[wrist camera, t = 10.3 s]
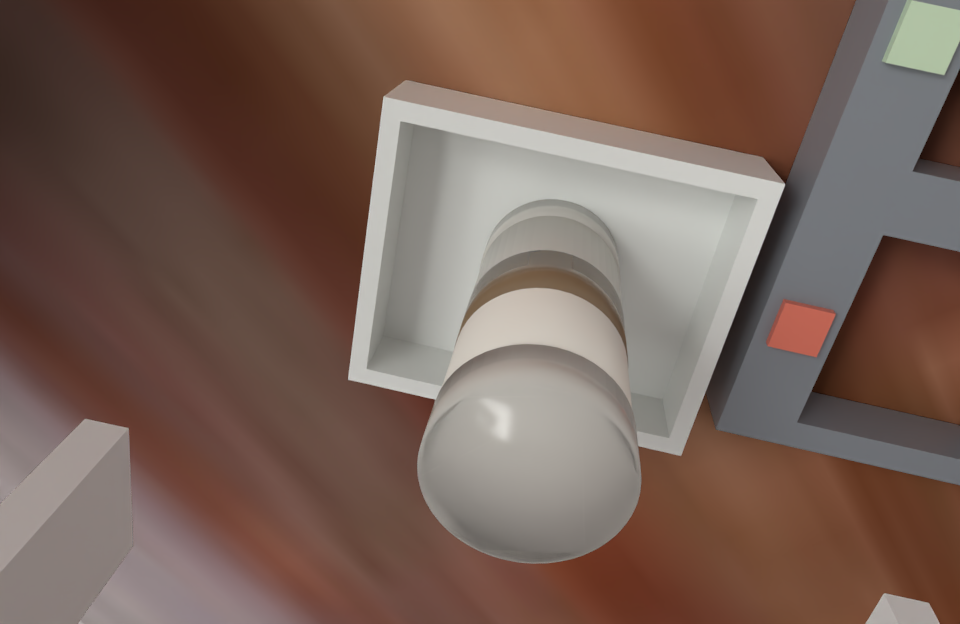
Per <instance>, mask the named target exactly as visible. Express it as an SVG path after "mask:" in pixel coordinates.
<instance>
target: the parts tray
mask: <svg viewBox="0 0 960 624" xmlns="http://www.w3.org/2000/svg"><path fill="white" fill-rule="evenodd" d="M784 187H785V183H784V182H783V181H782V179H781V178H780V177H779V176H778V175H777V173H776V172H775V171H774V170H773V169H772V167H771V166H770V165H769V164H768V163H767V161H766V160H765V159H764V158H763V157H759V156H755V155H750V154H745V153H741V152H736V151H732V150H727V149H722V148H718V147H713V146H709V145H704V144H699V143H695V142H690V141H685V140H681V139H676V138H672V137H667V136H662V135H658V134H653V133H649V132H644V131H639V130H635V129H630V128H625V127H621V126H616V125H612V124H607V123H602V122H598V121H593V120H589V119H584V118H579V117H575V116H570V115H566V114H561V113H556V112H552V111H547V110H542V109H538V108H533V107H529V106H524V105H519V104H515V103H510V102H506V101H501V100H496V99H492V98H487V97H482V96H478V95H473V94H469V93H464V92H459V91H455V90H450V89H446V88H441V87H436V86H432V85H427V84H422V83H418V82H413V81H409V80H405V81H404V82H402V83H401V84H400V85H398V86H397V87H396V88H394V89H393V90H392V91H390V92H389V93H388V94H386V95H385V96H384V97H383V105H382V113H381V121H380V129H379V137H378V145H377V152H376V160H375V168H374V176H373V184H372V192H371V200H370V208H369V216H368V224H367V232H366V240H365V248H364V256H363V264H362V272H361V280H360V288H359V296H358V304H357V312H356V320H355V328H354V336H353V344H352V352H351V360H350V368H349V376H348V380H352V381H356V382H361V383H365V384H370V385H374V386H378V387H383V388H387V389H391V390H396V391H400V392H404V393H409V394H413V395H417V396H422V397H426V398H431V399H435V400H436V398H437V396H438V393H439V391H440V389H441V388H442V385H443V382H444V379H445V376H446V373H447V370H448V367H449V364H450V361H451V358H452V354H453V351H454V347H455V344H456V340H457V337H458V334H459V331H460V328H461V324H462V321H463V318H464V315H465V312H466V309H467V306H468V303H469V300H470V297H471V295H472V293H473V290H474V287H475V284H476V281H477V278H478V275H479V270H480V264H481V261H482V257H483V254H484V251H485V248H486V245H487V242H488V240H489V237H490V235H491V233H492V231H493V230H494V228H495V227H496V225H497V224H498V223H499V222H500V221H501V219H503V218H504V217H505V216H506V215H507V214H508V213H510V212H511V211H512V210H514V209H516V208H518V207H519V206H521V205H524V204H527V203H529V202H533V201H537V200H544V199H558V200H565V201H569V202H573V203H576V204H578V205H580V206H583V207H585V208H586V209H588V210H590V211H591V212H593V213H594V214H595V215H596V216H598V217H599V218H600V219H601V220H602V221H603V222H604V223H605V225H606V226H607V228H608V229H609V230H610V232H611V234H612V236H613V238H614V240H615V243H616V246H617V251H618V257H619V267H620V279H621V282H620V292H621V302H622V309H623V315H624V325H625V335H626V345H627V354H628V372H629V382H630V392H631V402H632V410H633V413H634V418H635V422H636V429H637V439H638V446H640V447H644V448H648V449H653V450H657V451H662V452H666V453H670V454H675V455H679V456H681V455H682V452H683V449H684V447H685V444H686V442H687V439H688V436H689V434H690V431H691V429H692V426H693V423H694V421H695V418H696V416H697V413H698V410H699V408H700V405H701V403H702V400H703V397H704V395H705V392H706V390H707V387H708V384H709V382H710V379H711V377H712V374H713V371H714V369H715V366H716V364H717V361H718V358H719V356H720V353H721V351H722V348H723V345H724V343H725V340H726V338H727V335H728V332H729V330H730V327H731V325H732V322H733V319H734V317H735V314H736V312H737V309H738V306H739V304H740V301H741V299H742V296H743V293H744V291H745V288H746V286H747V283H748V280H749V278H750V275H751V273H752V270H753V267H754V265H755V262H756V260H757V257H758V254H759V252H760V249H761V247H762V244H763V241H764V239H765V236H766V234H767V231H768V228H769V226H770V223H771V221H772V218H773V215H774V213H775V210H776V207H777V205H778V202H779V200H780V197H781V194H782V192H783V189H784Z"/></svg>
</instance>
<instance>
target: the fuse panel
mask: <svg viewBox="0 0 960 624" xmlns="http://www.w3.org/2000/svg"><path fill="white" fill-rule="evenodd" d="M959 69H960V0H856V2H855V5H854V7H853V10H852V13H851V15H850V18H849V20H848V23H847V26H846V28H845V31H844V33H843V36H842V39H841V41H840V44H839V46H838V49H837V52H836V54H835V57H834V59H833V62H832V65H831V67H830V70H829V72H828V75H827V78H826V80H825V83H824V85H823V88H822V91H821V93H820V96H819V98H818V101H817V104H816V106H815V109H814V111H813V114H812V117H811V119H810V122H809V124H808V127H807V130H806V132H805V135H804V137H803V140H802V143H801V145H800V148H799V150H798V153H797V156H796V158H795V161H794V163H793V166H792V169H791V171H790V174H789V176H788V179H787V182H786V184H785V187H784V189H783V192H782V195H781V197H780V200H779V202H778V205H777V208H776V210H775V213H774V215H773V218H772V221H771V223H770V226H769V228H768V231H767V234H766V236H765V239H764V241H763V244H762V247H761V249H760V252H759V254H758V257H757V260H756V262H755V265H754V268H753V270H752V273H751V275H750V278H749V281H748V283H747V286H746V288H745V291H744V294H743V296H742V299H741V301H740V304H739V307H738V309H737V312H736V314H735V317H734V320H733V322H732V325H731V327H730V330H729V333H728V335H727V338H726V340H725V343H724V346H723V348H722V351H721V353H720V356H719V359H718V361H717V364H716V366H715V369H714V372H713V374H712V377H711V379H710V382H709V385H708V387H707V390H706V395H707V399H708V402H709V406H710V410H711V414H712V417H713V421H714V425H715V429H716V430H720V431H724V432H729V433H733V434H737V435H742V436H746V437H751V438H755V439H759V440H764V441H768V442H772V443H777V444H781V445H786V446H790V447H794V448H799V449H803V450H808V451H812V452H816V453H821V454H825V455H829V456H834V457H838V458H843V459H847V460H851V461H856V462H860V463H865V464H869V465H873V466H878V467H882V468H887V469H891V470H895V471H900V472H904V473H908V474H913V475H917V476H922V477H926V478H930V479H935V480H939V481H944V482H948V483H952V484H957V485H960V425H957V424H952V423H948V422H943V421H939V420H934V419H930V418H926V417H921V416H917V415H912V414H908V413H903V412H899V411H895V410H890V409H886V408H881V407H877V406H872V405H868V404H864V403H859V402H855V401H850V400H846V399H841V398H837V397H833V396H828V395H824V394H819V393H815V392H811V391H812V389H813V386H814V384H815V382H816V380H817V378H818V376H819V373H820V371H821V369H822V367H823V365H824V363H825V360H826V358H827V356H828V354H829V352H830V349H831V347H832V345H833V343H834V341H835V339H836V336H837V334H838V332H839V330H840V328H841V326H842V323H843V321H844V319H845V317H846V315H847V313H848V310H849V308H850V306H851V304H852V302H853V300H854V297H855V295H856V293H857V291H858V289H859V286H860V284H861V282H862V280H863V278H864V276H865V273H866V271H867V269H868V267H869V265H870V263H871V260H872V258H873V256H874V254H875V252H876V250H877V247H878V245H879V243H880V241H881V239H882V237H883V235H886V236H890V237H895V238H899V239H904V240H909V241H913V242H918V243H922V244H927V245H931V246H936V247H941V248H945V249H950V250H954V251H959V252H960V167H957V166H952V165H947V164H943V163H938V162H933V161H929V160H924V159H919V156H920V154H921V152H922V150H923V147H924V145H925V143H926V141H927V139H928V137H929V134H930V132H931V130H932V128H933V126H934V124H935V121H936V119H937V117H938V115H939V113H940V111H941V108H942V106H943V104H944V102H945V100H946V98H947V95H948V93H949V91H950V89H951V87H952V85H953V82H954V80H955V78H956V76H957V74H958V71H959Z"/></svg>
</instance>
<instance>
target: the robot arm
mask: <svg viewBox="0 0 960 624" xmlns="http://www.w3.org/2000/svg"><path fill="white" fill-rule="evenodd" d="M132 547H133V526H132V500H131V474H130V448H129V428H125V427H121V426H116V425H112V424H107V423H103V422H98V421H93V420H89V419H84V420H83V421H82V422H81V423H80V424H79V425H78V426H77V427H76V428H75V429H74V430H73V431H72V432H71V433H70V434H69V435H68V436H67V437H66V438H65V439H64V440H63V441H62V442H61V443H60V444H59V445H58V446H57V447H56V448H55V449H54V450H53V451H52V452H51V453H50V454H49V455H48V456H47V457H46V458H45V459H44V460H43V461H42V462H41V463H40V464H39V465H38V466H37V467H36V468H35V469H34V470H33V471H32V472H31V473H30V474H29V475H28V476H27V477H26V478H25V479H24V480H23V481H22V483H21V484H20V485H19V486H18V487H17V488H16V489H15V490H14V491H13V492H12V493H11V494H10V495H9V496H8V497H7V498H6V499H5V500H4V501H3V502H2V503H1V504H0V624H78V623H79V621H80V620H81V618H82V617H83V616H84V614H85V613H86V611H87V610H88V608H89V607H90V606H91V604H92V603H93V601H94V600H95V599H96V597H97V596H98V594H99V593H100V592H101V590H102V589H103V587H104V586H105V585H106V583H107V582H108V580H109V579H110V578H111V576H112V575H113V573H114V572H115V571H116V569H117V568H118V566H119V565H120V564H121V562H122V561H123V559H124V558H125V557H126V555H127V554H128V552H129V551H130V550H131V548H132ZM866 624H940V623H939V621H938V619H937V617H936V616H935V614H934V612H933V610H932V608H931V606H930V604H929V603H927V602H922V601H918V600H913V599H909V598H904V597H899V596H895V595H890V594H886V593H884V594H883V596H882V597H881V599H880V601H879V602H878V604H877V606H876V607H875V609H874V611H873V612H872V614H871V615H870V617H869V619H868V620H867V622H866Z"/></svg>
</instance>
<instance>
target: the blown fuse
mask: <svg viewBox="0 0 960 624" xmlns="http://www.w3.org/2000/svg"><path fill="white" fill-rule="evenodd" d="M620 282H621V279H620V267H619V257H618V251H617V246H616V243H615V240H614V238H613V236H612V234H611V232H610V230H609V229H608V228H607V226H606V225H605V223H604V222H603V221H602V220H601V219H600V218H599V217H598V216H596V215H595V214H594V213H593V212H591V211H590V210H588V209H586V208H585V207H583V206H580V205H578V204H576V203H573V202H569V201H565V200H558V199H544V200H537V201H533V202H529V203H527V204H524V205H521V206H519V207H518V208H516V209H514V210H512V211H511V212H510V213H508V214H507V215H506V216H505V217H504V218H503V219H501V221H500V222H499V223H498V224H497V225H496V227H495V228H494V230H493V231H492V233H491V235H490V237H489V240H488V242H487V245H486V248H485V251H484V254H483V257H482V261H481V264H480V270H479V275H478V278H477V281H476V284H475V287H474V290H473V293H472V295H471V297H470V300H469V303H468V306H467V309H466V312H465V315H464V318H463V321H462V324H461V328H460V331H459V334H458V337H457V340H456V344H455V347H454V351H453V354H452V358H451V361H450V364H449V367H448V370H447V373H446V376H445V379H444V382H443V385H442V388H441V389H440V391H439V393H438V396H437V398H436V400H435V403H434V406H433V409H432V412H431V415H430V418H429V421H428V424H427V427H426V430H425V433H424V436H423V439H422V442H421V446H420V449H419V453H418V462H417V470H418V480H419V484H420V489H421V491H422V494H423V496H424V499H425V501H426V503H427V505H428V507H429V508H430V510H431V511H432V513H433V514H434V516H435V517H436V518H437V520H438V521H439V522H440V523H441V524H442V525H443V526H444V527H445V528H446V529H447V530H448V531H449V532H450V533H452V534H453V535H454V536H455V537H456V538H458V539H459V540H461V541H462V542H464V543H465V544H467V545H469V546H471V547H472V548H474V549H476V550H478V551H480V552H483V553H485V554H488V555H490V556H493V557H497V558H500V559H504V560H508V561H514V562H520V563H532V564H535V563H553V562H561V561H565V560H570V559H574V558H577V557H579V556H582V555H585V554H587V553H589V552H592V551H594V550H596V549H598V548H599V547H601V546H602V545H604V544H605V543H607V542H608V541H610V540H611V539H612V538H613V537H614V536H615V535H617V534H618V533H619V532H620V530H621V529H622V528H623V527H624V526H625V525H626V523H627V522H628V520H629V519H630V517H631V516H632V514H633V512H634V510H635V507H636V505H637V502H638V499H639V495H640V489H641V467H640V458H639V448H638V439H637V429H636V422H635V418H634V413H633V410H632V402H631V392H630V382H629V372H628V354H627V345H626V335H625V325H624V315H623V309H622V302H621V292H620Z"/></svg>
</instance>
